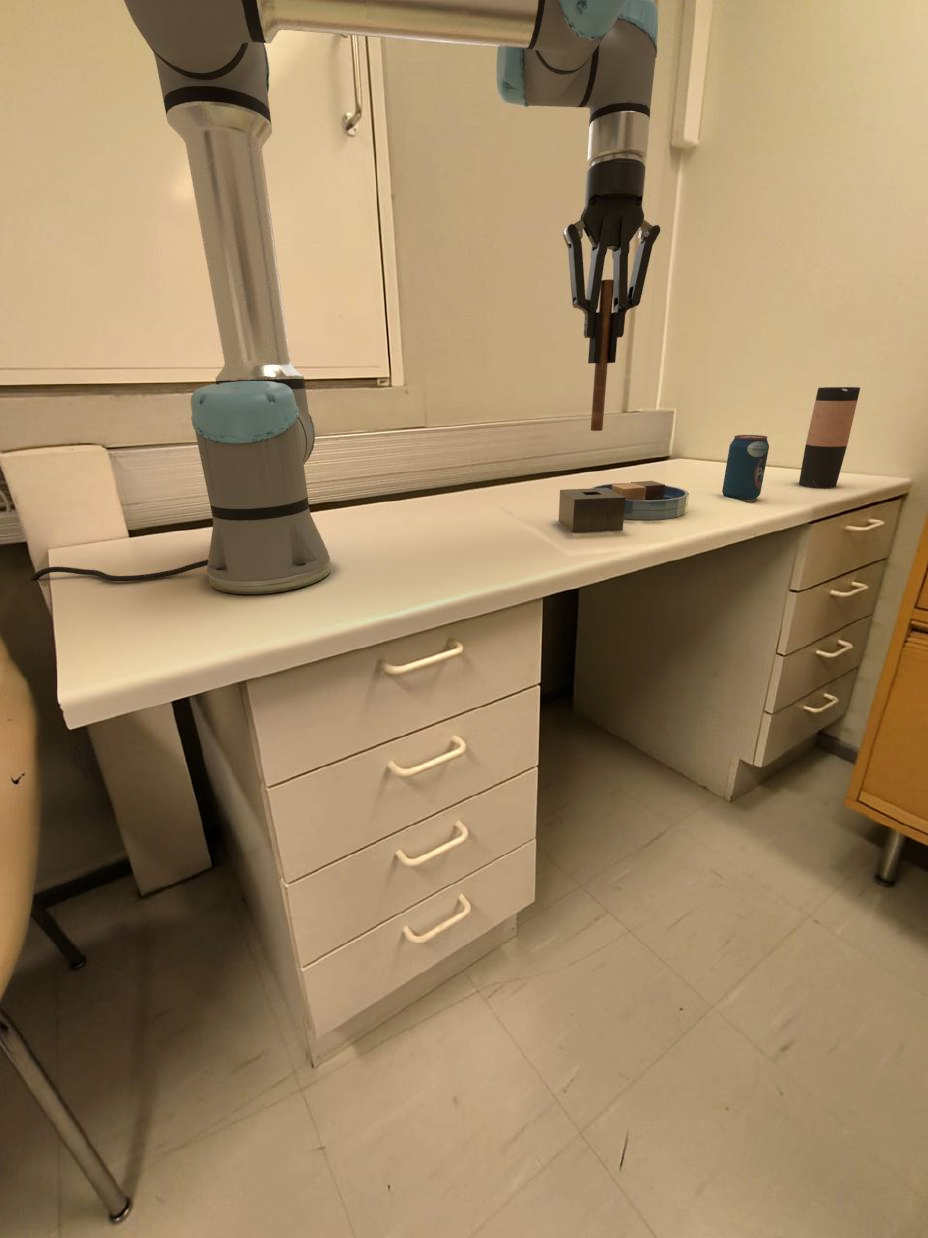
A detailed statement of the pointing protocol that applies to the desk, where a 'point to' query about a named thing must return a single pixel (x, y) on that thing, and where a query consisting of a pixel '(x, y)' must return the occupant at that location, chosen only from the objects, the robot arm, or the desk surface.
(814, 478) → the travel mug
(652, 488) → the walnut block
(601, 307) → the stirring stick
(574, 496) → the stand
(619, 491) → the pine block
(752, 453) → the soda can
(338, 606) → the desk surface
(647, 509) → the bowl
